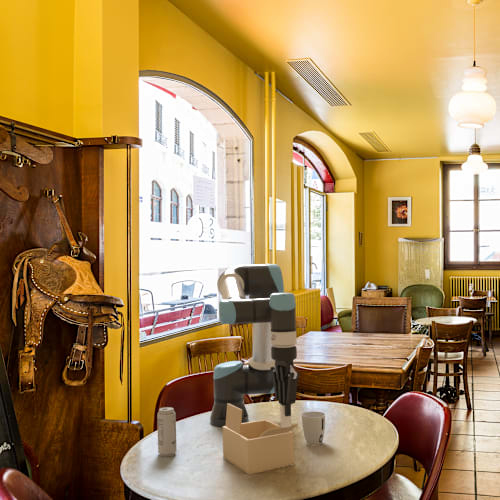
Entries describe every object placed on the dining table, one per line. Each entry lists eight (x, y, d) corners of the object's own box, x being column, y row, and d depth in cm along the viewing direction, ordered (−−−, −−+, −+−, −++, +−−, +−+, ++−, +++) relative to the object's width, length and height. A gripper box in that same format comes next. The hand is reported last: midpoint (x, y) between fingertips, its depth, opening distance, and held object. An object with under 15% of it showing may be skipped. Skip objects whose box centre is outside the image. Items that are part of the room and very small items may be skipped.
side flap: (228, 403, 193) (227, 403, 192) (242, 409, 184) (241, 409, 184) (226, 425, 192) (225, 425, 192) (240, 433, 183) (239, 433, 183)
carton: (222, 457, 194) (221, 426, 194) (267, 448, 202) (266, 418, 202) (248, 474, 177) (247, 440, 178) (296, 464, 185) (295, 431, 185)
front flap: (268, 428, 174) (268, 430, 174) (297, 423, 179) (298, 425, 179) (258, 435, 180) (259, 437, 180) (287, 430, 184) (287, 431, 184)
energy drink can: (177, 456, 196) (175, 410, 196) (158, 458, 195) (157, 411, 195) (176, 450, 202) (175, 406, 202) (158, 452, 201) (157, 407, 201)
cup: (325, 447, 201) (324, 417, 201) (301, 446, 203) (300, 417, 203) (326, 440, 209) (326, 411, 209) (303, 439, 211) (302, 411, 211)
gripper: (262, 344, 180) (264, 423, 179) (283, 349, 168) (286, 433, 167) (283, 342, 183) (285, 419, 182) (306, 346, 171) (309, 429, 171)
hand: (286, 426), depth 175 cm, fingers closed
